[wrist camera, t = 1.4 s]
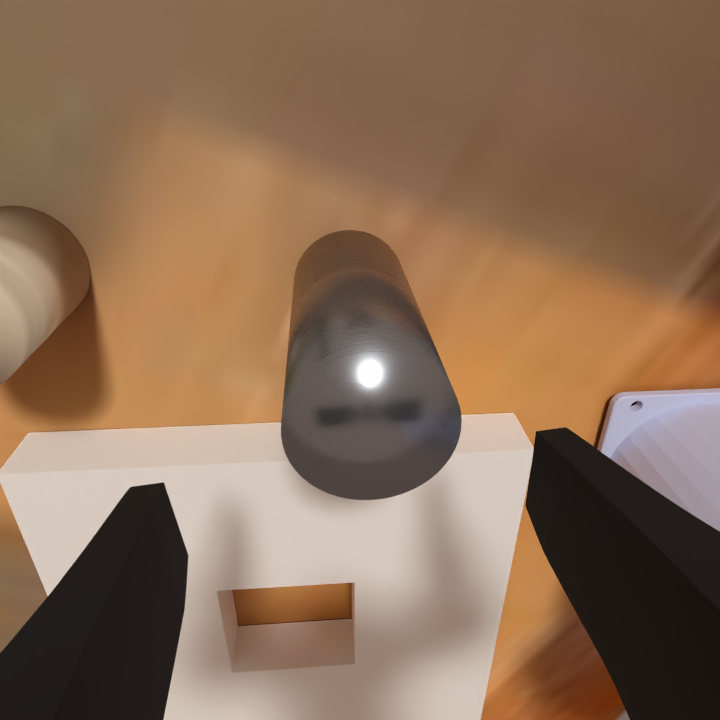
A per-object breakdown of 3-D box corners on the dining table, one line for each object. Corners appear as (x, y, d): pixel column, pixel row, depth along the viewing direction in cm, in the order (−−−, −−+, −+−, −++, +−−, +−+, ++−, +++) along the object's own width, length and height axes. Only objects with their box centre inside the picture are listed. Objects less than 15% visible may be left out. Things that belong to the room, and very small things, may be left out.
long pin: (405, 229, 19) (470, 349, 11) (401, 332, 21) (453, 495, 13) (291, 231, 19) (274, 356, 11) (297, 335, 21) (286, 504, 13)
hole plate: (513, 412, 23) (534, 449, 21) (467, 685, 33) (478, 729, 31) (28, 432, 22) (-3, 473, 20) (129, 710, 32) (115, 758, 29)
